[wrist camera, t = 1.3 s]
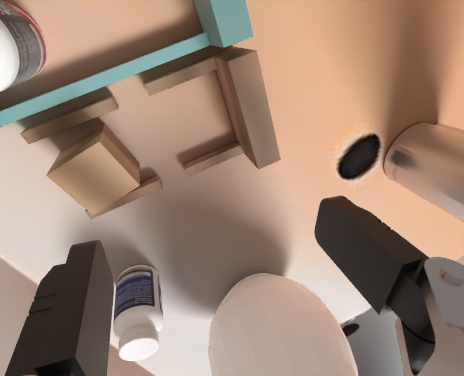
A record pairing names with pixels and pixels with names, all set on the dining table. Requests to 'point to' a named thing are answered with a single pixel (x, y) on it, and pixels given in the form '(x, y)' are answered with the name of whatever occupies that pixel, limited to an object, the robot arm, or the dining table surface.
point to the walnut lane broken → (238, 104)
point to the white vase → (276, 332)
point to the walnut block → (96, 170)
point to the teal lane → (150, 56)
